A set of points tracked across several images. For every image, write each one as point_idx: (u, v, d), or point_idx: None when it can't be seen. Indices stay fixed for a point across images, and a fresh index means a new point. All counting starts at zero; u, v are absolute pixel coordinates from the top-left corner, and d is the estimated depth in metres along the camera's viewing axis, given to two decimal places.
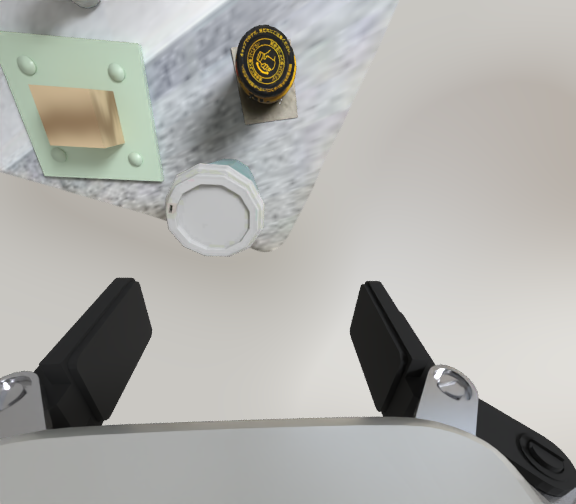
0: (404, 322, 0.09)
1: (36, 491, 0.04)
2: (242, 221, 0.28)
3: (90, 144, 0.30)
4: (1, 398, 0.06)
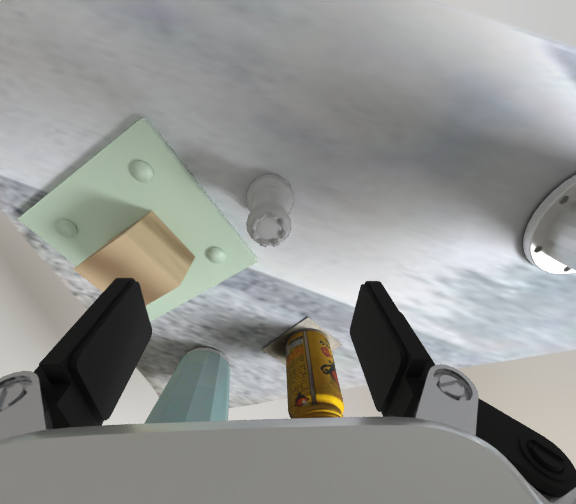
0: (404, 322, 0.09)
1: (36, 491, 0.04)
2: None
3: None
4: (1, 398, 0.06)
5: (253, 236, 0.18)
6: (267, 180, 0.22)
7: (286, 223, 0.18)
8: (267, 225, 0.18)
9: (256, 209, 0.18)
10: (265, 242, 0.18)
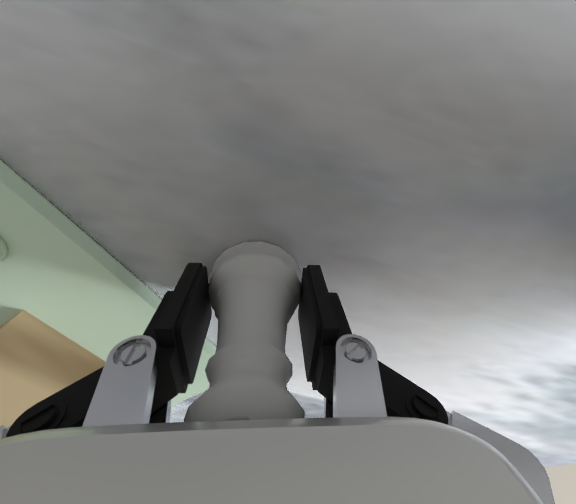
0: (328, 299, 0.09)
1: (36, 491, 0.04)
2: None
3: None
4: (129, 355, 0.07)
5: None
6: (248, 260, 0.11)
7: None
8: None
9: (207, 400, 0.06)
10: None
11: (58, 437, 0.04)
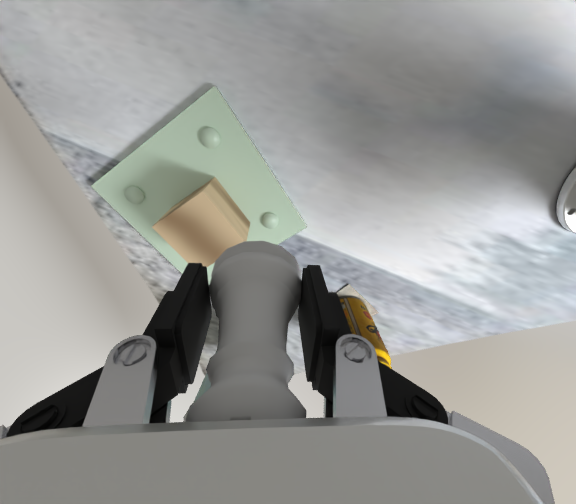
0: (328, 299, 0.09)
1: (36, 491, 0.04)
2: None
3: (190, 260, 0.25)
4: (129, 355, 0.07)
5: None
6: (249, 259, 0.11)
7: None
8: None
9: (208, 399, 0.06)
10: None
11: (58, 437, 0.04)
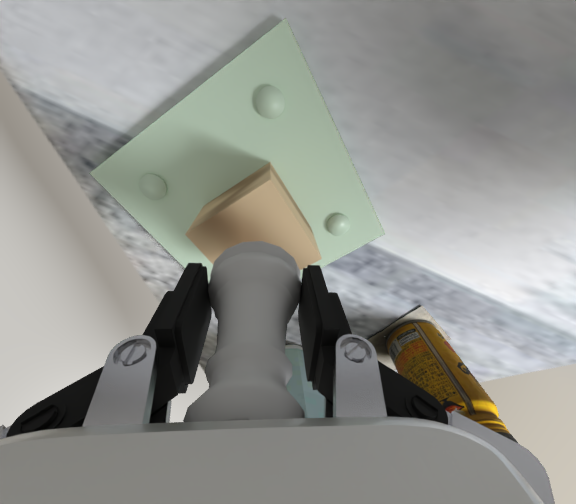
0: (328, 299, 0.09)
1: (36, 491, 0.04)
2: None
3: None
4: (129, 355, 0.07)
5: None
6: (248, 259, 0.11)
7: None
8: None
9: (206, 401, 0.06)
10: None
11: (58, 437, 0.04)
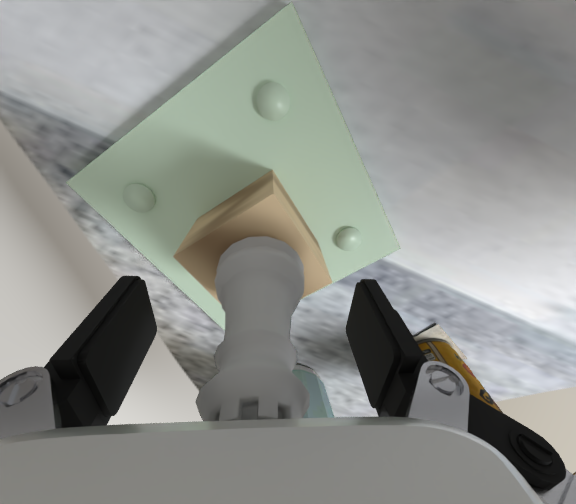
0: (398, 319, 0.09)
1: (36, 491, 0.04)
2: None
3: None
4: (13, 393, 0.06)
5: None
6: (254, 253, 0.11)
7: (299, 410, 0.07)
8: None
9: (218, 381, 0.07)
10: None
11: (58, 437, 0.04)
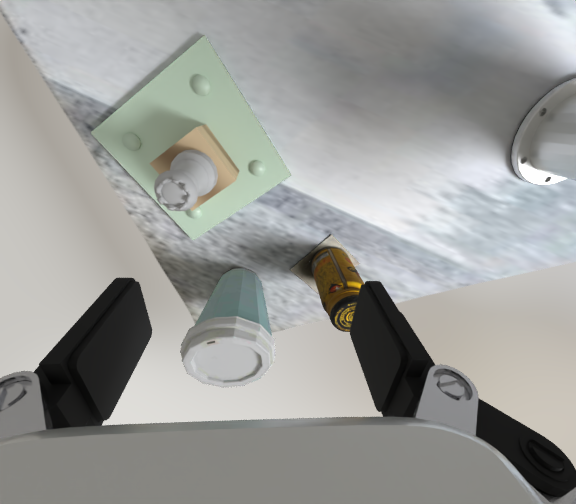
0: (404, 322, 0.09)
1: (36, 491, 0.04)
2: (241, 374, 0.30)
3: None
4: (1, 398, 0.06)
5: (158, 200, 0.19)
6: (186, 154, 0.24)
7: (190, 188, 0.20)
8: (171, 189, 0.19)
9: (160, 175, 0.19)
10: (172, 206, 0.20)
11: (58, 437, 0.04)
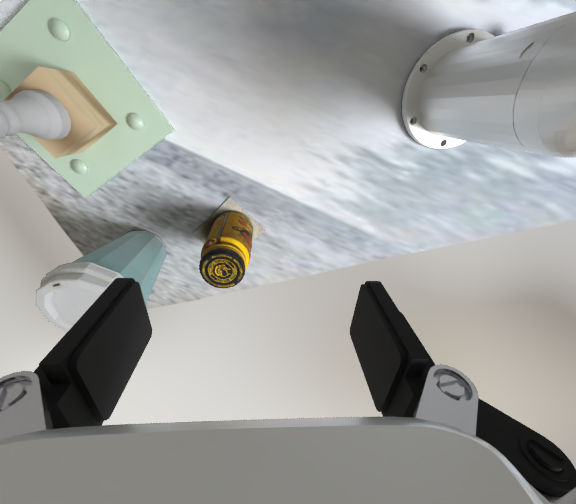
0: (404, 322, 0.09)
1: (36, 491, 0.04)
2: None
3: (44, 144, 0.27)
4: (1, 398, 0.06)
5: None
6: (24, 91, 0.24)
7: None
8: None
9: None
10: None
11: (58, 437, 0.04)
